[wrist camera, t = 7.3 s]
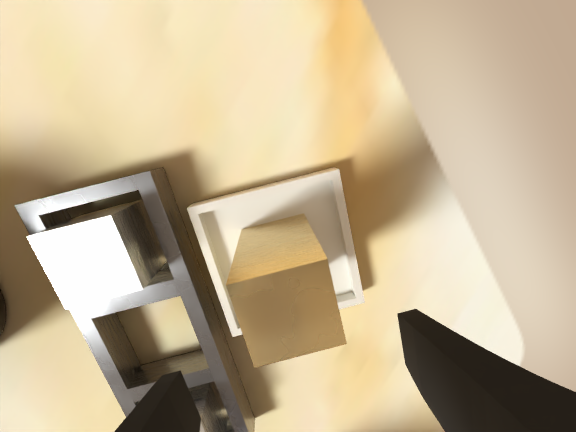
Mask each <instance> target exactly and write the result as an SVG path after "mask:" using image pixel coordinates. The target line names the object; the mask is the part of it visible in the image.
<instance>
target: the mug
mask: <svg viewBox="0 0 576 432" xmlns="http://www.w3.org/2000/svg"><path fill="white" fill-rule="evenodd" d="M5 320H6V308H5V302H4V298H3V295H2V293H1V290H0V335H1V333H2V331H3V329H4V325H5Z"/></svg>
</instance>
